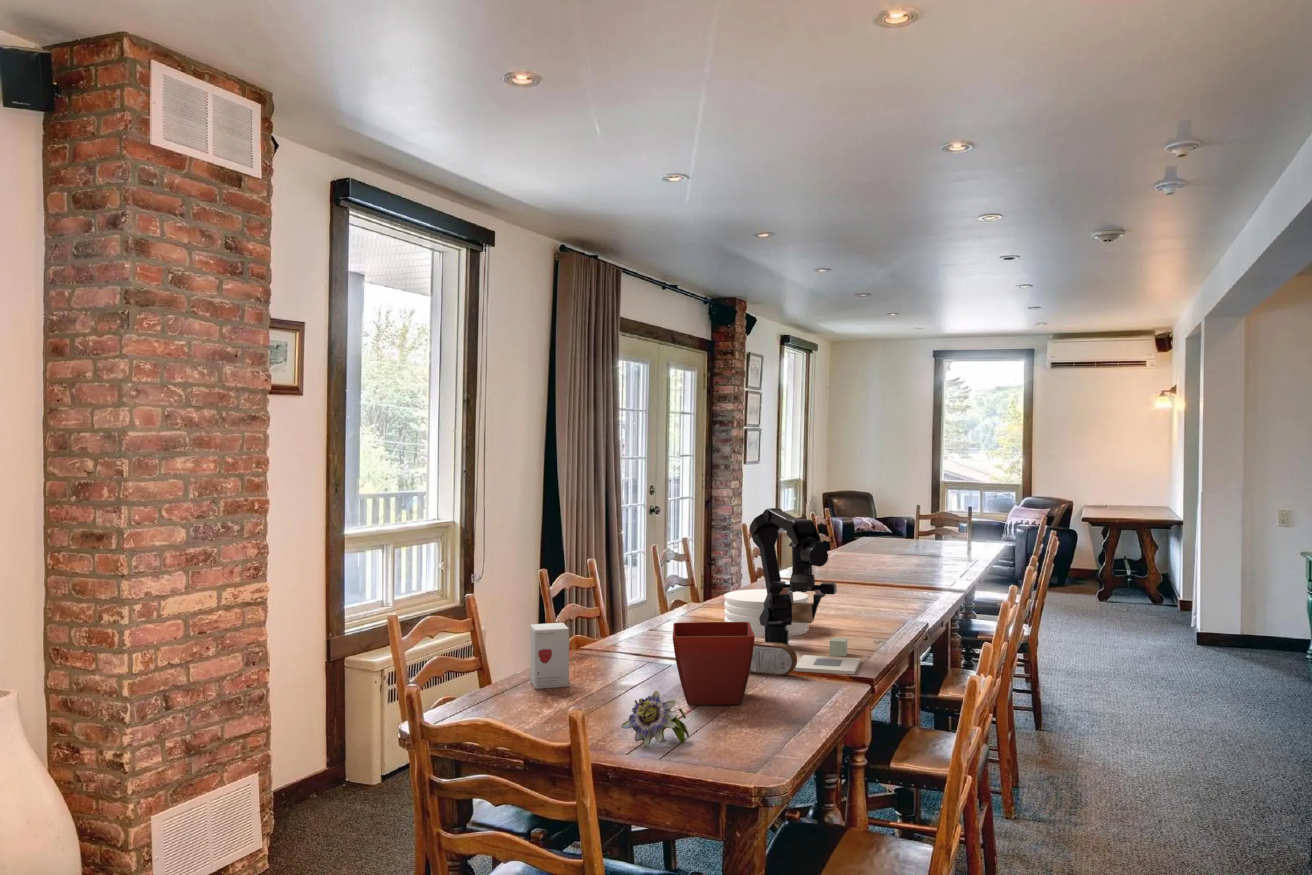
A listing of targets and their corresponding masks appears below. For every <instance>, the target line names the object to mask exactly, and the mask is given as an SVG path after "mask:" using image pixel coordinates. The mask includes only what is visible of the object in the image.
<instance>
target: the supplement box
mask: <svg viewBox="0 0 1312 875" xmlns="http://www.w3.org/2000/svg"><path fill="white" fill-rule="evenodd" d="M529 629H530V631H529V634H530V635H529V638H530V641H529V642H530V644H529V649H530V650H529V652H530V653H529V654H530V655H529V681H530V683H531V685H532V686H533V688H534V689H535V690H539V689H555V688H569V687H570V628H569V627H568V626H567V625H566V624H565V623H564V622H553V623H552V622H551V623H533V624H530V625H529Z"/></svg>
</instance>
